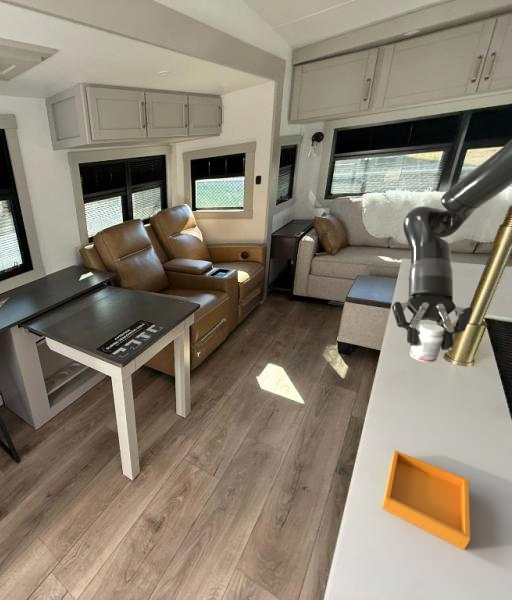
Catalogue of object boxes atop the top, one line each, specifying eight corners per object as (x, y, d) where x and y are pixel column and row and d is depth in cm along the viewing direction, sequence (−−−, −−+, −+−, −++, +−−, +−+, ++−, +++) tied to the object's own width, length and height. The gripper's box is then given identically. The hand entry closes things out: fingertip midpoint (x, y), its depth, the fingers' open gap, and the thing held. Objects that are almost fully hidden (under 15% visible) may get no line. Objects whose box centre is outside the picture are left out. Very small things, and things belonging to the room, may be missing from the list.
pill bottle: (441, 358, 75) (452, 328, 72) (428, 365, 74) (438, 334, 70) (417, 349, 79) (426, 320, 76) (404, 355, 78) (413, 325, 74)
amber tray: (463, 489, 58) (468, 479, 57) (464, 550, 50) (470, 539, 49) (391, 459, 65) (394, 449, 64) (381, 508, 57) (385, 497, 56)
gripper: (396, 272, 78) (393, 338, 74) (480, 276, 71) (482, 349, 67) (388, 284, 84) (385, 345, 80) (464, 288, 77) (465, 356, 73)
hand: (429, 347), depth 73 cm, fingers closed on pill bottle, 4 cm apart
